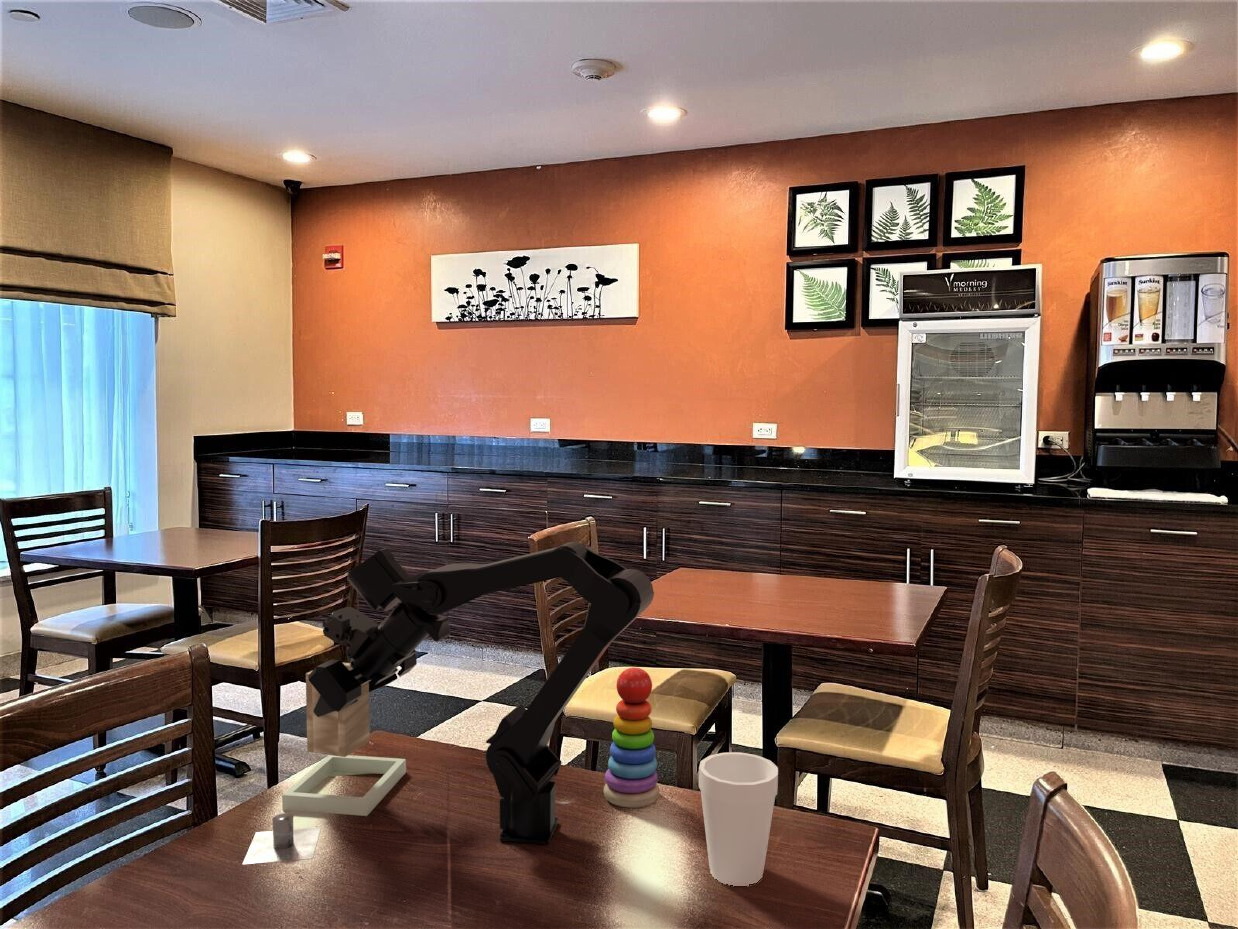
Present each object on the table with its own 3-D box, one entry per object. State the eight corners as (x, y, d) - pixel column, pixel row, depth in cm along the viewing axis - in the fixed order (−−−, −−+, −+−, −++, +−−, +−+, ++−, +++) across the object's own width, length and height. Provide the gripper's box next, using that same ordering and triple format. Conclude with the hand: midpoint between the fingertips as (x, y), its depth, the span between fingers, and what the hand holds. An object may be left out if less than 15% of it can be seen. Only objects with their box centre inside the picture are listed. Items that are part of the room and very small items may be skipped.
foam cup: (725, 902, 102) (727, 791, 101) (682, 864, 110) (684, 761, 109) (792, 881, 106) (794, 775, 105) (746, 846, 114) (748, 747, 113)
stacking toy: (660, 811, 124) (661, 678, 122) (602, 810, 124) (603, 677, 122) (658, 786, 131) (660, 661, 130) (604, 785, 132) (605, 660, 130)
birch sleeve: (369, 741, 127) (368, 665, 126) (345, 757, 121) (343, 678, 121) (323, 735, 129) (322, 660, 129) (297, 750, 124) (295, 672, 123)
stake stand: (321, 834, 116) (320, 801, 116) (312, 866, 108) (311, 830, 108) (256, 840, 115) (255, 806, 114) (242, 872, 107) (241, 836, 106)
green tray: (406, 778, 133) (405, 759, 133) (366, 823, 119) (366, 801, 119) (329, 773, 135) (329, 754, 135) (282, 816, 121) (282, 794, 121)
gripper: (397, 578, 131) (333, 645, 135) (319, 606, 113) (249, 682, 118) (446, 635, 130) (380, 701, 134) (374, 672, 112) (301, 748, 116)
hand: (330, 706), depth 125 cm, fingers closed on birch sleeve, 6 cm apart
